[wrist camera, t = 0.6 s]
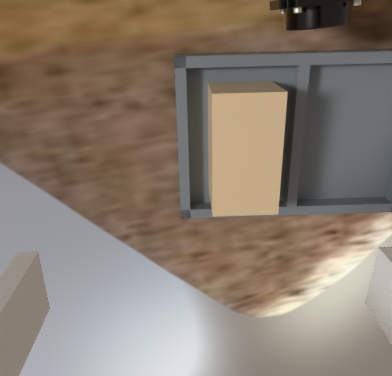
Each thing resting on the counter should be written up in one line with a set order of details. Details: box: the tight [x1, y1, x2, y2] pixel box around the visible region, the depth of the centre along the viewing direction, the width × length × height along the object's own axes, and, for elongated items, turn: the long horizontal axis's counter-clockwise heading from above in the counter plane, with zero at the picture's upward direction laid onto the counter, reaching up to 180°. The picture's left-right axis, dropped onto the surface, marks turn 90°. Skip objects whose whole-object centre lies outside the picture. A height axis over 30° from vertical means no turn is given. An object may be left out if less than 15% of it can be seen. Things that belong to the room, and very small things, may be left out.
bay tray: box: [174, 49, 392, 219], centre depth 35 cm, size 16×23×7 cm
